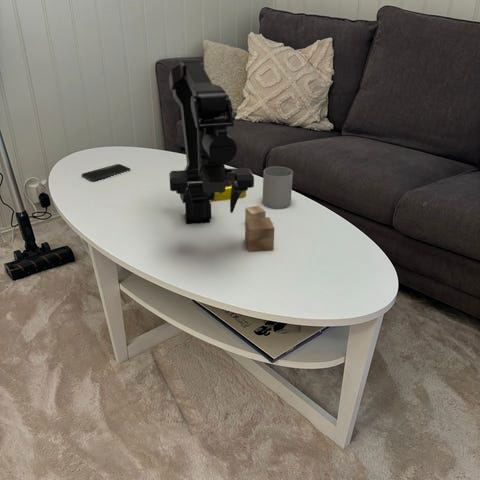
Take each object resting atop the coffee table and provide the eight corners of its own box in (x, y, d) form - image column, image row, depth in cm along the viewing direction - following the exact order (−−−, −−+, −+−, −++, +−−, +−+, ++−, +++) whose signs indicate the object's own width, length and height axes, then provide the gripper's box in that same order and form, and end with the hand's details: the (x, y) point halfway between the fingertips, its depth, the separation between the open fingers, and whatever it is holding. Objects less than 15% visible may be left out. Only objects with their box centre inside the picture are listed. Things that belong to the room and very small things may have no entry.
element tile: (188, 186, 151) (188, 172, 149) (233, 181, 156) (233, 167, 153) (200, 204, 139) (199, 189, 137) (247, 198, 143) (248, 183, 141)
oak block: (251, 230, 124) (251, 213, 121) (245, 224, 127) (245, 207, 124) (264, 228, 125) (265, 211, 123) (258, 222, 128) (259, 205, 126)
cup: (288, 210, 135) (291, 177, 130) (260, 207, 136) (261, 175, 132) (291, 199, 142) (294, 167, 137) (265, 196, 144) (266, 165, 139)
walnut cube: (248, 252, 113) (249, 229, 110) (244, 240, 118) (245, 218, 115) (273, 250, 114) (274, 228, 111) (268, 238, 119) (269, 217, 116)
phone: (80, 174, 156) (118, 163, 166) (80, 177, 157) (119, 166, 166) (92, 180, 151) (131, 169, 161) (93, 183, 152) (132, 172, 162)
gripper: (168, 162, 94) (172, 231, 102) (259, 159, 97) (257, 226, 104) (167, 145, 104) (171, 209, 112) (250, 143, 107) (248, 205, 114)
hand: (211, 213), depth 110 cm, fingers open, 9 cm apart
